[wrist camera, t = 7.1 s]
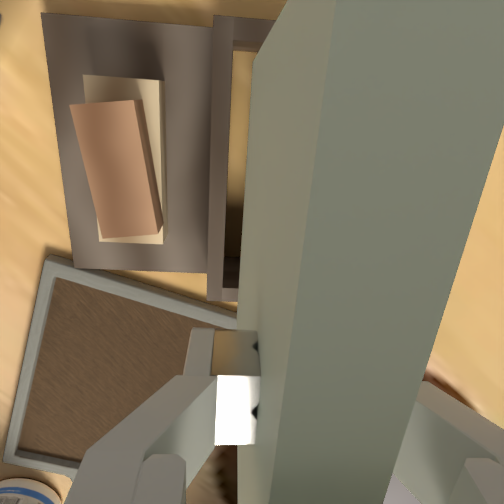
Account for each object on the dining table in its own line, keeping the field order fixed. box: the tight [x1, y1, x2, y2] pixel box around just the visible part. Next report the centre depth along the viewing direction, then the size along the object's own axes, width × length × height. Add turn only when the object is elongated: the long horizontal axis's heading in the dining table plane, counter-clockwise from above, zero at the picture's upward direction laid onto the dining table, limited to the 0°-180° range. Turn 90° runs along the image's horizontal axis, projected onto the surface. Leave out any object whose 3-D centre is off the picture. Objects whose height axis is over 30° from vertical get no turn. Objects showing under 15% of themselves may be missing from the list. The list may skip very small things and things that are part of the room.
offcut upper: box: [69, 99, 164, 239], centre depth 26 cm, size 4×9×2 cm, turn 4°
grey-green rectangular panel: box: [237, 0, 504, 504], centre depth 13 cm, size 2×14×16 cm, turn 176°
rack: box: [41, 12, 276, 302], centre depth 28 cm, size 18×19×6 cm
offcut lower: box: [83, 75, 168, 244], centre depth 28 cm, size 5×12×2 cm, turn 176°
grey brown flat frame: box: [3, 254, 237, 482], centre depth 40 cm, size 19×2×30 cm
